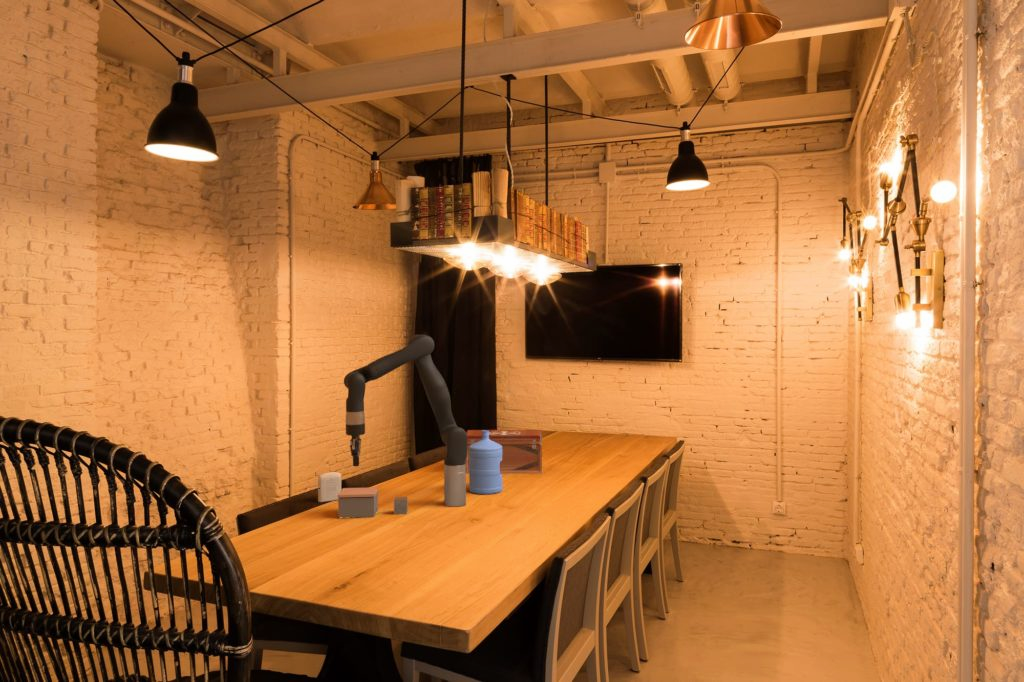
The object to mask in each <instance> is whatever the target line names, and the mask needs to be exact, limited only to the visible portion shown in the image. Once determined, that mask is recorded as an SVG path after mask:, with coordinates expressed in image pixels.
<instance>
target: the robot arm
mask: <svg viewBox="0 0 1024 682" xmlns="http://www.w3.org/2000/svg"><path fill="white" fill-rule="evenodd" d="M434 349H435V340H434V339H433V338H432V337H431V336H430V335H426V334H415V335H412V336H411V337H410V338H409V340H408V342H407V345H406V346H405V347H402V348H401V349H399V350H397V351H394V352H392V353H388V354H386V355H383V356H381V357H379V358H377V359H375V360H373V361H371V362H369V363H368V364H366V365H364V366H362V367H359V368H357V369H354V370H352V371H350V372H348V373H347V374H346V375H345V376H344V378H343V384H344V387H346V389H347V390H348V391H347V398H346V399H345V400H346V401H345V434H346V436H351V438H350V440H349V444H350V445H349V448H350V454H351V455H350V456H351V457H352V466H353V467H358V466H360V455H361V449H362V438H361V436H362V435H365V433H366V416H365V401H364V400H365V393H366V386H367V385H366V384H367V383H369V382H372V381H375V380H378V379H380V378H382V377H383V376H385V375H387V374H389V373H391V372H393V371H394V370H395V371H396V369H398V368H400V367H402V366H404V365H406V364H408V363H410V362H412V361H413V362H414V364H415V366H416V368H417V371H418V373H419V377H420V380H421V383H422V385H423V388H424V391H425V395H426V397H427V400H428V402H429V404H430V408H431V410H432V412H433V414H434V417H435V418H436V422H437V426H438V430H439V434H440V437H441V441H442V443H443V444H444V445H445V446H446V455H445V456H444V458H443V480H444V481H443V483H444V484H443V487H444V488H443V489H444V490H443V493H444V494H443V495H444V497H443V501H444V502H443V503H444V505H445V506H448V507H461V506H466V505H467V483H466V482H467V479H466V478H467V477H466V476H467V474H466V458H467V447H468V438H467V434H466V433H467V431H466V430H465V429H464V428H462V427H459V426H458V425H457V423H456V420H455V418H454V416H453V412H452V404H451V395H450V391H449V388H448V386H447V383H446V381H445V379H444V377H443V376H442V374H441V373H440V371H439V370H438V368H437V367H436V365H435V364H434V361H433V359H432V355H431V354H432V352H433V351H434Z"/></svg>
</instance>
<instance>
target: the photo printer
mask: <svg viewBox="0 0 1024 682" xmlns="http://www.w3.org/2000/svg"><path fill="white" fill-rule="evenodd" d="M317 482H318V483H317V501H318V503H324V502H332V501H338V498H337V495H338V494H339V492H340V491H341V490H342V473H340V472H335V471H329V472H324V473H322V474H319V475H318V478H317ZM319 488H320V489H319Z"/></svg>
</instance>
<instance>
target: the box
mask: <svg viewBox="0 0 1024 682" xmlns="http://www.w3.org/2000/svg"><path fill="white" fill-rule="evenodd" d="M378 493H379V490H378V491H377V493H376V495H375V497H340V498H338V500H337V502H338V503H337V504H338V505H337V506H338V508H337V509H338V510H337V511H338V512H337V513H338V517H339V518H338V519H341V518H340V517H343V518H342V519H346V518H345V517H374V516H375V517H376V515H377V513H376V512H378V510H379V498H378V497H379V494H378ZM375 514H376V515H375ZM375 517H374V518H375Z"/></svg>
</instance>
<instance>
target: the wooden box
mask: <svg viewBox="0 0 1024 682" xmlns="http://www.w3.org/2000/svg"><path fill="white" fill-rule="evenodd" d="M482 430H483V429H468V430H467V431H466V434H467V438H468V447H467V458H466V475H469V446H470V445H472V444H474V443H476V442H478V441H480V440H482ZM488 430H489V439H490V440H492V441H494V442H496V443H498V444H500V445H501V446H502V453H503V454H502V461H501V462H500V474H505V475H506V474H507V475H511V474H512V475H513V474H514V475H515V474H516V475H517V474H518V475H519V474H521V475H522V474H523V475H524V474H525V475H526V474H527V475H528V474H529V475H530V474H531V475H532V474H533V475H534V474H537V475H538V474H539V475H540V474H543V448H542V447H543V439H542V438H543V436H542V435H543V434H542V429H488Z"/></svg>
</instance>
